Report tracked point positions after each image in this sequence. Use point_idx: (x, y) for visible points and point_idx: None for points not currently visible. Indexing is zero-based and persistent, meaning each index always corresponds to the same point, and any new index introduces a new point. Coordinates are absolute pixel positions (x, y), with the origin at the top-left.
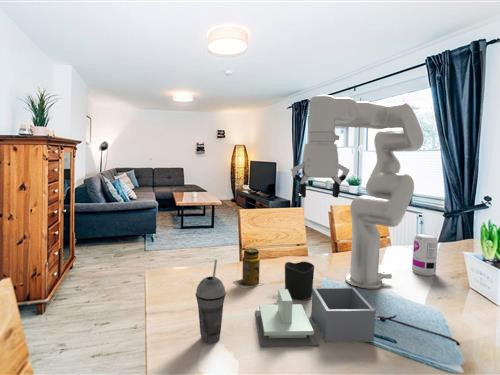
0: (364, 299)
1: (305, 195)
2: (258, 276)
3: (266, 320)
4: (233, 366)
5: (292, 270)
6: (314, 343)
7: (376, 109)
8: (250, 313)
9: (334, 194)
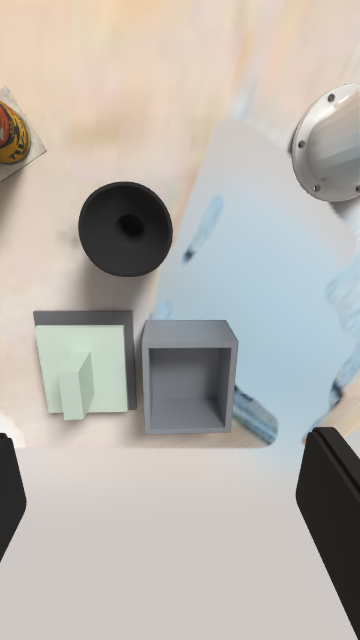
0: (232, 396)
1: (16, 522)
2: (18, 145)
3: (51, 383)
4: (18, 442)
5: (100, 267)
6: (129, 408)
7: None
8: (25, 314)
9: (309, 494)
